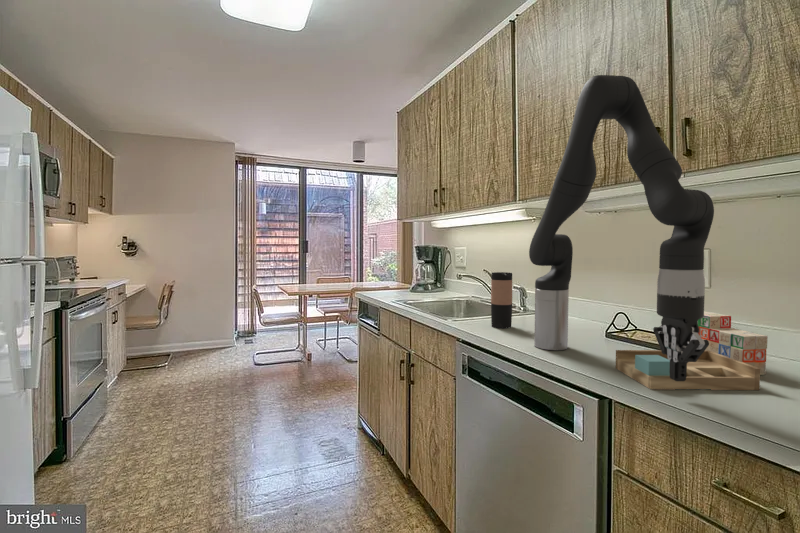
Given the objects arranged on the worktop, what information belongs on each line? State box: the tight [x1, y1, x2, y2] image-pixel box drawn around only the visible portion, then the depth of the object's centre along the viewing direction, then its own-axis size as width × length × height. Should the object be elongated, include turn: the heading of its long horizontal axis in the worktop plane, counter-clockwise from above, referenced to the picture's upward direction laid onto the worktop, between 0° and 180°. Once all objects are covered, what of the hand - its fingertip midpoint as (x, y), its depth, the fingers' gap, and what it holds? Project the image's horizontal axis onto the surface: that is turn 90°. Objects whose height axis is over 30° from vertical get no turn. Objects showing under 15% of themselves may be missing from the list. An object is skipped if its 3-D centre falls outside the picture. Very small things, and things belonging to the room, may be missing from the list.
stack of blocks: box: [698, 310, 768, 376], centre depth 99 cm, size 21×6×12 cm, turn 4°
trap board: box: [615, 349, 761, 391], centre depth 87 cm, size 14×22×4 cm, turn 88°
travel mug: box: [490, 271, 513, 329], centre depth 144 cm, size 8×8×20 cm
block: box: [635, 355, 670, 376], centre depth 84 cm, size 5×5×3 cm
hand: (677, 379), depth 77 cm, fingers closed
